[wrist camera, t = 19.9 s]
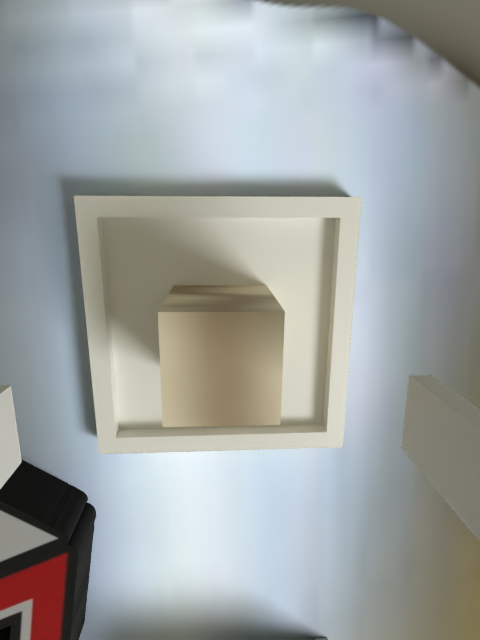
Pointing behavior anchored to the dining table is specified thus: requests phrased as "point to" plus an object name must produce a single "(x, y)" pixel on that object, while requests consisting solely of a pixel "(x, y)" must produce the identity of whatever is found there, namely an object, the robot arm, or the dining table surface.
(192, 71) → the dining table surface
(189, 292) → the block
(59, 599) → the emblem
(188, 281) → the tray
